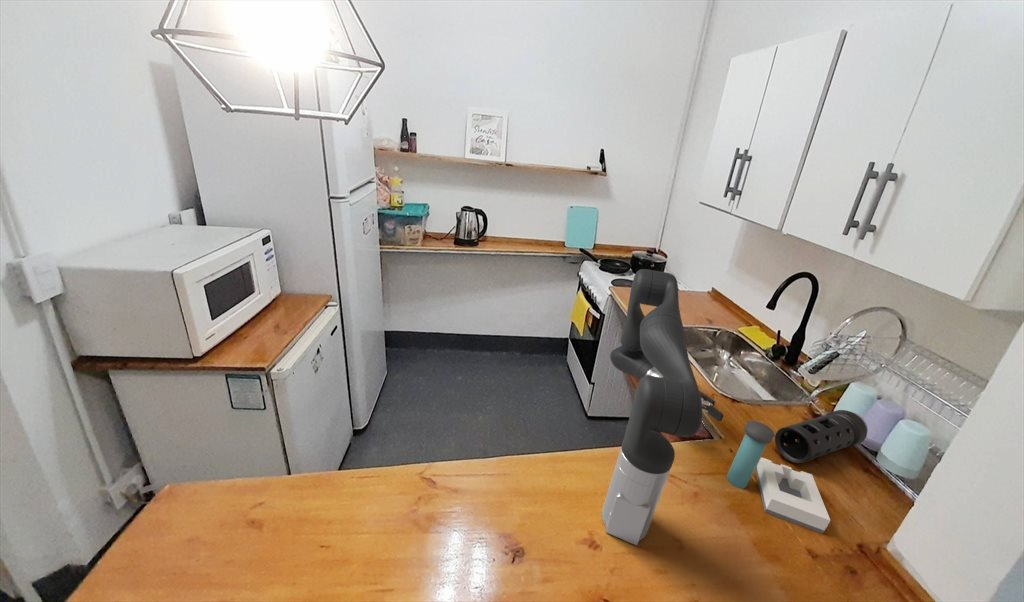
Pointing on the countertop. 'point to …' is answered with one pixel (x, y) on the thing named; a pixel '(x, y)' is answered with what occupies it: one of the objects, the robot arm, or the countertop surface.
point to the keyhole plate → (791, 495)
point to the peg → (749, 453)
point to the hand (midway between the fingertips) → (710, 421)
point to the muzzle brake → (820, 436)
